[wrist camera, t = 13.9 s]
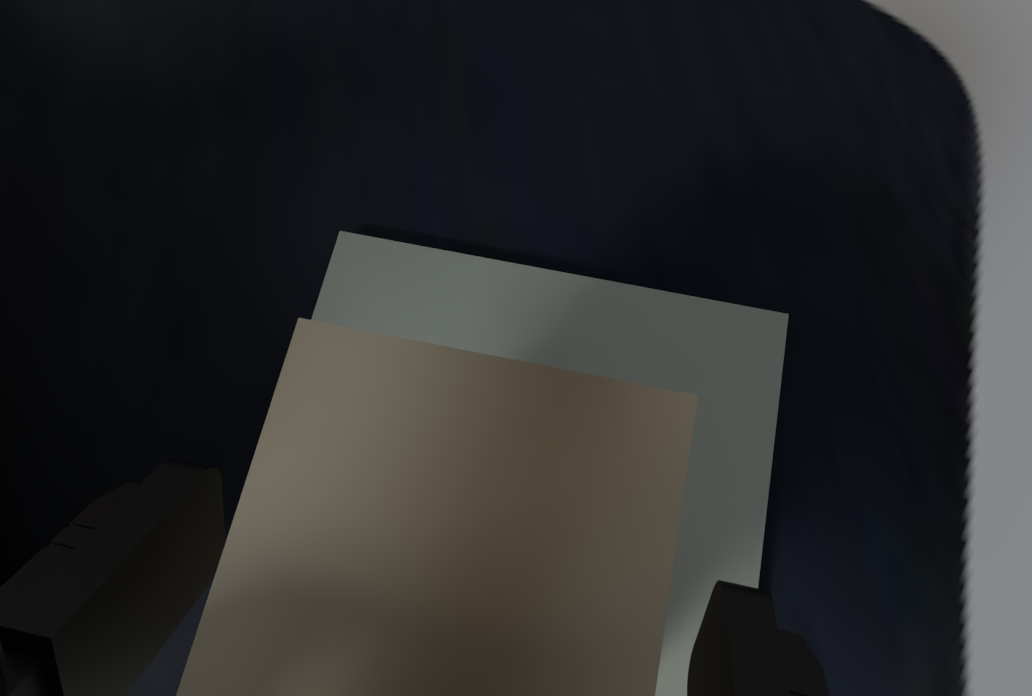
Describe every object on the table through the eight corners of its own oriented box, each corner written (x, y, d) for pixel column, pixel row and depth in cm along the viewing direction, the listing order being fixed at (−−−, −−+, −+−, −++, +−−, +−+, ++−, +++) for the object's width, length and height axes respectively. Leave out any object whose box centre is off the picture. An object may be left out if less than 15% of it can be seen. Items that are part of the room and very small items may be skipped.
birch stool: (357, 672, 18) (156, 753, 9) (414, 451, 20) (298, 317, 10) (581, 726, 18) (629, 876, 8) (620, 494, 19) (697, 395, 10)
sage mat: (138, 888, 17) (124, 898, 17) (345, 239, 23) (339, 230, 22) (699, 1047, 16) (704, 1063, 16) (782, 321, 21) (788, 314, 21)
